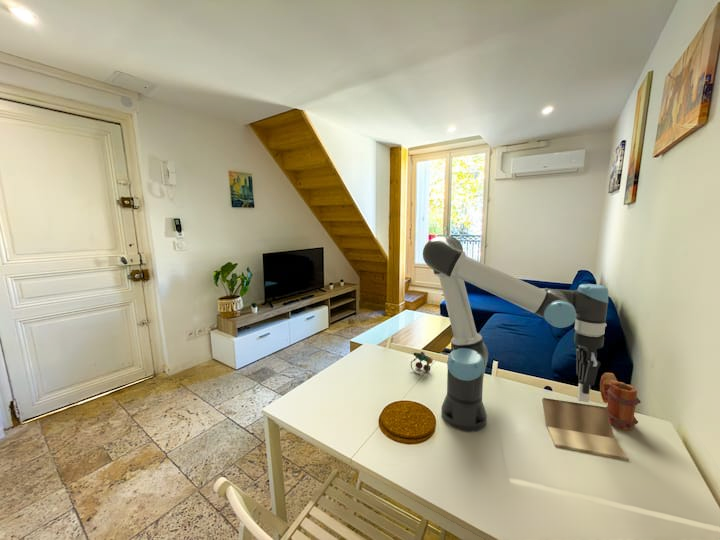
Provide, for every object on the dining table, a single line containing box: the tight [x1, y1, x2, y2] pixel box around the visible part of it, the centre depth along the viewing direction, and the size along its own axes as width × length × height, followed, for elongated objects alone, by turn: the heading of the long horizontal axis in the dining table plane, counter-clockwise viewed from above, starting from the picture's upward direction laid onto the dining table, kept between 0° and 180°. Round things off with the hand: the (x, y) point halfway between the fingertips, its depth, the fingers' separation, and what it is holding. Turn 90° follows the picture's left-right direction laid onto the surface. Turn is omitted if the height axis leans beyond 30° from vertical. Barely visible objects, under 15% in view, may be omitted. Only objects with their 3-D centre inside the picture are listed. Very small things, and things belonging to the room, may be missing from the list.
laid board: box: [546, 426, 630, 461], centre depth 89 cm, size 18×8×2 cm, turn 71°
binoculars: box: [410, 351, 434, 375], centre depth 134 cm, size 9×9×10 cm
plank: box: [541, 397, 616, 439], centre depth 96 cm, size 18×9×2 cm
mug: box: [599, 372, 641, 431], centre depth 99 cm, size 15×8×15 cm, turn 168°
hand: (582, 400), depth 96 cm, fingers closed
